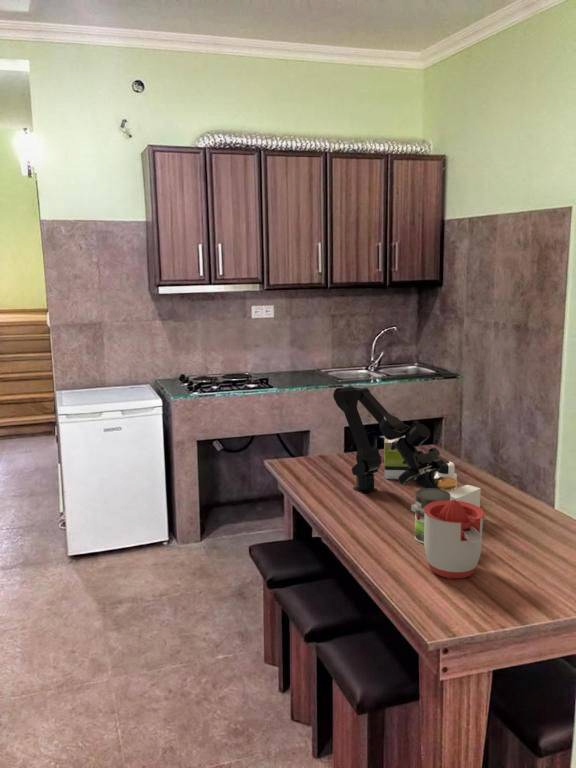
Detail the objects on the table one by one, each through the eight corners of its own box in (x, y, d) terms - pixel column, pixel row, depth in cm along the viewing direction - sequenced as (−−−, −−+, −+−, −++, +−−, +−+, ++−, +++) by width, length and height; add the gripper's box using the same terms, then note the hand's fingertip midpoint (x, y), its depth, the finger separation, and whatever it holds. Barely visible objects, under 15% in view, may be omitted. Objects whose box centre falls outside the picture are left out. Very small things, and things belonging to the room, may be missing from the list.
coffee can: (427, 548, 195) (428, 502, 193) (407, 535, 205) (408, 491, 202) (456, 541, 199) (457, 496, 197) (435, 529, 209) (436, 485, 206)
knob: (432, 508, 219) (433, 479, 217) (443, 504, 223) (444, 475, 221) (448, 513, 214) (448, 483, 213) (459, 509, 218) (459, 479, 217)
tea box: (384, 467, 271) (384, 431, 268) (409, 467, 270) (410, 432, 267) (384, 479, 256) (384, 441, 254) (410, 480, 255) (411, 442, 252)
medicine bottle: (432, 497, 236) (433, 464, 234) (436, 490, 243) (437, 458, 241) (453, 499, 234) (454, 466, 232) (456, 492, 240) (457, 460, 238)
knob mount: (407, 512, 223) (407, 483, 221) (431, 502, 231) (431, 474, 229) (456, 528, 209) (456, 498, 207) (479, 517, 217) (480, 488, 215)
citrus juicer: (449, 591, 170) (452, 516, 166) (411, 563, 186) (412, 494, 182) (498, 578, 176) (502, 506, 172) (457, 553, 192) (459, 486, 188)
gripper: (406, 446, 215) (433, 487, 209) (441, 435, 228) (467, 474, 222) (386, 464, 223) (412, 505, 217) (421, 452, 235) (447, 491, 229)
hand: (435, 493), depth 221 cm, fingers closed
